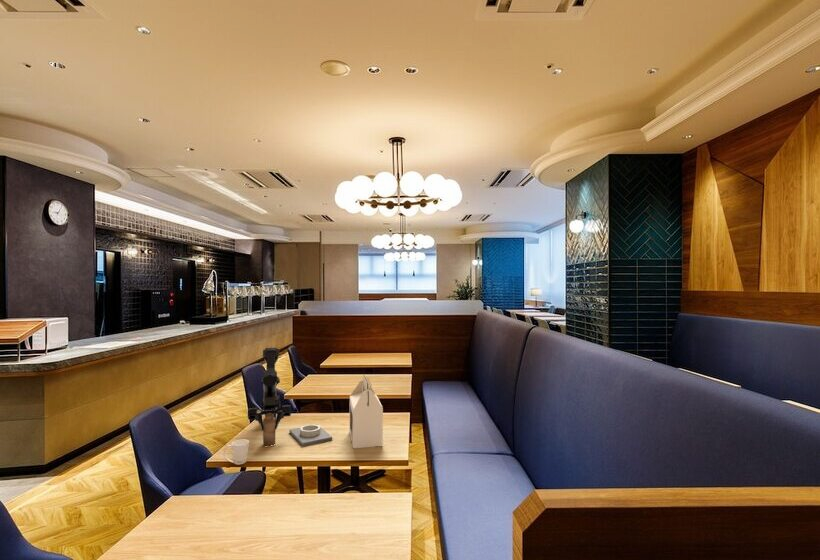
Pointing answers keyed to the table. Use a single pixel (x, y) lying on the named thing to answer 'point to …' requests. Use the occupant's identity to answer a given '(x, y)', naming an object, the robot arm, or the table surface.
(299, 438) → the caddy board
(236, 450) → the cup
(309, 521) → the table surface
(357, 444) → the gable box
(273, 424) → the pepper mill
